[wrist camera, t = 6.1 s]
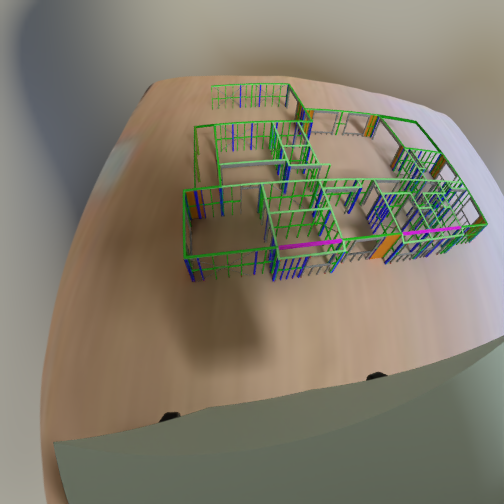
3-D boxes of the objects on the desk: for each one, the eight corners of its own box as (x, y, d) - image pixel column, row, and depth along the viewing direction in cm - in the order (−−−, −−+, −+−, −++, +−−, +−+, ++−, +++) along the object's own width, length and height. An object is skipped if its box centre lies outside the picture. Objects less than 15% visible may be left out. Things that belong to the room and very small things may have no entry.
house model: (193, 292, 24) (183, 268, 20) (190, 113, 38) (187, 88, 34) (470, 249, 28) (491, 230, 23) (384, 115, 42) (392, 95, 38)
